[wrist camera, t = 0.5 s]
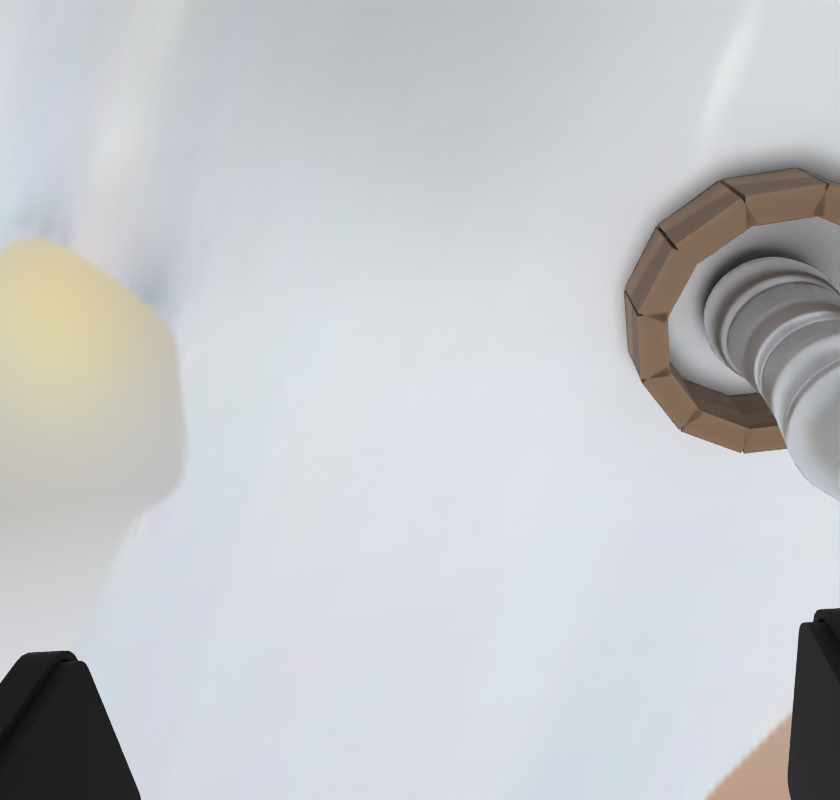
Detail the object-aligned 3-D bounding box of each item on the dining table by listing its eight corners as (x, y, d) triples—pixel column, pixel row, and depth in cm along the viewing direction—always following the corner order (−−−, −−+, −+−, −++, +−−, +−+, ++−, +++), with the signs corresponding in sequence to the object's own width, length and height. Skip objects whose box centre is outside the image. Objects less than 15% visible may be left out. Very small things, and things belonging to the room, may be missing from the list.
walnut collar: (618, 196, 41) (631, 214, 38) (905, 150, 39) (948, 164, 36) (633, 430, 47) (646, 464, 44) (883, 400, 45) (917, 434, 42)
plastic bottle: (706, 242, 42) (873, 417, 24) (834, 249, 42) (1099, 429, 24) (684, 353, 45) (819, 581, 27) (804, 359, 45) (1020, 594, 27)
